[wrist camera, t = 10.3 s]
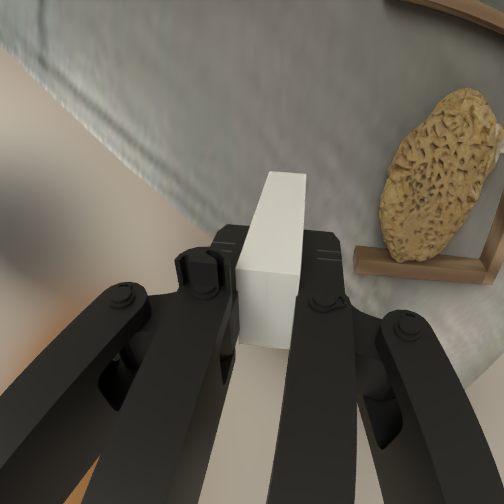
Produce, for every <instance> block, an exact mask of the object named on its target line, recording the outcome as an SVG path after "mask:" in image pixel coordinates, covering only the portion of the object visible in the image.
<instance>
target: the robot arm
mask: <svg viewBox="0 0 504 504" xmlns="http://www.w3.org/2000/svg"><path fill="white" fill-rule="evenodd" d="M305 190H306V174H300V173H287V172H273V171H269V174H268V177H267V180H266V183H265V185H264V188H263V191H262V194H261V197H260V200H259V202H258V205H257V208H256V211H255V214H254V217H253V220H252V222H251V225H250V226H243V225H230V224H227V225H226V226H224V227H223V228H222V229H220V230H219V231H218V232H217V234H216V236H215V238H214V240H213V243H212V244H211V246H210V247H196V248H192V249H188V250H186V251H184V252H183V253H181V254H179V256H178V257H177V258H176V259H175V266H176V271H177V276H178V282H179V289H178V291H177V292H174V293H169V294H161V295H151V296H148V295H147V292H146V290H145V288H144V287H143V286H141V285H140V284H138V283H133V282H124V283H123V282H122V283H118V284H116V285H113V286H111V287H109V288H108V289H106V290H105V291H104V292H103V293H102V294H100V295H99V296H98V297H97V298H96V299H95V300H94V301H93V302H92V303H91V304H90V305H89V306H88V307H87V308H86V309H85V310H84V311H82V312H81V313H80V315H78V316H77V317H76V318H75V319H74V320H73V321H72V322H71V323H70V324H69V325H68V326H67V327H66V328H65V329H64V330H63V331H62V332H61V333H60V334H59V335H58V336H57V337H56V338H55V339H54V340H53V341H52V342H51V343H50V344H49V345H48V346H47V347H46V348H45V349H44V350H43V351H42V352H41V353H40V354H39V355H38V356H37V357H36V358H35V359H34V360H33V361H32V363H30V365H29V366H28V367H27V368H26V369H25V370H24V371H23V372H22V373H21V374H20V375H19V376H18V377H17V378H16V379H15V381H14V382H13V383H12V384H11V385H10V386H9V387H8V388H7V389H6V390H5V391H4V393H3V394H2V395H1V396H0V504H63V503H64V502H65V501H66V499H67V498H68V497H69V495H70V494H71V492H72V491H73V490H74V489H75V487H76V486H77V485H78V483H79V482H80V480H81V479H82V478H83V477H84V475H85V474H86V473H87V471H88V470H89V469H90V467H91V466H92V465H93V463H94V462H95V461H96V460H97V458H98V457H99V456H100V457H99V460H98V462H97V465H96V467H95V470H94V472H93V474H92V477H91V480H90V482H89V485H88V487H87V490H86V492H85V494H84V497H83V500H82V502H81V504H198V500H199V496H200V493H201V489H202V485H203V482H204V478H205V474H206V470H207V467H208V463H209V459H210V455H211V451H212V447H213V444H214V440H215V436H216V432H217V429H218V424H219V421H220V417H221V413H222V409H223V406H224V402H225V398H226V394H227V390H228V386H229V382H230V378H231V374H232V371H233V367H234V363H235V345H236V341H237V338H238V335H239V344H247V345H255V346H263V347H271V348H280V349H289V358H288V365H287V372H286V378H285V388H284V395H283V402H282V410H281V416H280V423H279V430H278V437H277V442H276V449H275V455H274V461H273V468H272V473H271V479H270V485H269V490H268V495H267V501H266V504H354V500H355V482H356V455H357V454H356V453H357V404H358V407H359V411H360V413H361V417H362V421H363V424H364V428H365V431H366V435H367V439H368V442H369V446H370V449H371V453H372V457H373V461H374V465H375V468H376V472H377V476H378V480H379V484H380V488H381V492H382V496H383V500H384V504H504V487H503V484H502V481H501V478H500V475H499V472H498V470H497V466H496V464H495V461H494V458H493V456H492V453H491V451H490V448H489V446H488V443H487V441H486V438H485V436H484V433H483V431H482V429H481V426H480V424H479V422H478V419H477V417H476V415H475V413H474V410H473V408H472V406H471V403H470V401H469V399H468V397H467V395H466V393H465V391H464V389H463V387H462V385H461V382H460V380H459V378H458V376H457V374H456V372H455V370H454V369H453V367H452V365H451V363H450V361H449V359H448V357H447V355H446V353H445V351H444V349H443V348H442V346H441V344H440V342H439V340H438V338H437V337H436V335H435V333H434V331H433V329H432V328H431V326H430V325H429V323H428V322H427V321H426V320H425V319H424V318H423V317H421V316H420V315H418V314H417V313H415V312H411V311H408V310H395V311H392V312H389V313H388V314H387V315H386V316H384V317H383V319H379V318H376V317H373V316H370V315H367V314H365V313H363V312H361V311H359V310H358V309H356V308H355V307H354V306H353V305H352V304H351V303H350V300H349V297H348V296H347V295H346V294H345V288H344V277H343V267H342V257H341V248H340V241H339V240H338V238H337V237H336V236H335V235H334V233H333V232H324V231H313V230H303V227H304V210H305ZM100 454H101V455H100Z"/></svg>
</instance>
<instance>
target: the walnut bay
mask: <svg viewBox="0 0 504 504" xmlns="http://www.w3.org/2000/svg"><path fill="white" fill-rule="evenodd" d="M402 1H407V2H411V3H415V4H418V5H422V6H426V7H429V8H433V9H436V10H439V11H442V12H446V13H449V14H452V15H455V16H458V17H460V18H463V19H466V20H469V21H471V22H474V23H476V24H479V25H481V26H484V27H486V28H489V29H491V30H493V31H496V32H498V33H500V34H502V35H504V13H503V12H501V11H499V10H497V9H494V8H492V7H490V6H488V5H486V4H483V3H481V2H478V1H476V0H402ZM503 260H504V190H503V194H502V197H501V200H500V204H499V207H498V210H497V213H496V216H495V219H494V222H493V225H492V228H491V231H490V233H489V236H488V239H487V242H486V244H485V247H484V249H483V252H482V254H481V257H480V259H472V258H464V257H455V256H446V255H438V254H437V255H435V256H434V257H433V258H431V259H429V258H428V257H427V260H424V261H421V262H419V261H416V260H413V261H412V260H410V261H404V262H402V263H399V262H397V261H396V260H395V259H393V258H392V256H391V254H390V252H389V250H388V249H383V248H373V247H363V246H355V251H354V256H353V263H354V269H355V273H360V274H371V275H382V276H393V277H405V278H416V279H428V280H439V281H451V282H463V283H475V284H488V285H492V284H493V282H494V280H495V278H496V276H497V274H498V272H499V269H500V267H501V265H502V263H503Z"/></svg>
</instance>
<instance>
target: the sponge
mask: <svg viewBox="0 0 504 504" xmlns="http://www.w3.org/2000/svg"><path fill="white" fill-rule="evenodd" d="M487 104H488V103H487V101H486V100H485V98H484V97H483V95H482V94H481V93H480V92H478V91H475V90H473V89H470V88H467V87H466V88H463V89H459V90H456V91H454V92H451V93H450V94H449V95H447V96H446V97H445V98H444V99H442V100H441V101H439V102H438V104H437V105H436V107H435V109H434V110H433V111H432V112H431V114H430V115H429V116H428V118H427V119H426V120H425V121H424V122H423V123H421V124H420V125H419V126H418V127H417V128H415V129H413V130H412V131H411V132H410V133H409V134H408V135H407V136H406V137H405V138H404V139H403V140H402V142H401V143H400V146H399V149H398V150H397V152H396V154H395V156H394V158H393V160H392V161H391V164H390V166H389V168H388V169H387V170H388V173H387V174H388V179H386V184H385V186H384V189H383V192H382V194H381V196H380V206H379V208H380V210H379V212H378V214H379V219H380V225H381V230H382V234H383V238H384V239H383V241H384V242H385V243H386V245H387V247H388V250H389V252H390V254H391V256H392V258H393V259H395V260H396V261H397V262H399V263H402V262H404V261H410V260H412V261H413V260H416V261H419V262H421V261H424V260H427V257H428V258H429V259H431V258H433V257H434V256H435V255H437V254H438V253H440V252H441V251H443V250H444V249H445V247H446V246H447V245H448V244H449V242H450V241H451V240H452V238H453V237H454V236H455V235H456V233H457V231H458V230H459V229H460V228H461V227H462V225H463V224H464V222H465V220H466V219H467V217H468V214H469V211H470V209H471V208H472V207H473V206H474V204H475V203H476V201H477V200H478V198H479V197H480V195H481V189H482V186H483V183H484V181H485V180H486V178H487V176H488V174H489V173H490V172H491V171H492V170H493V169H494V168H495V166H496V164H497V161H498V159H499V156H500V154H504V128H503V126H502V125H501V124H500V123H499V122H497V121H496V117H495V115H494V114H493V112H492V111H491V109H490V107H489V106H488V105H487Z"/></svg>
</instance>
